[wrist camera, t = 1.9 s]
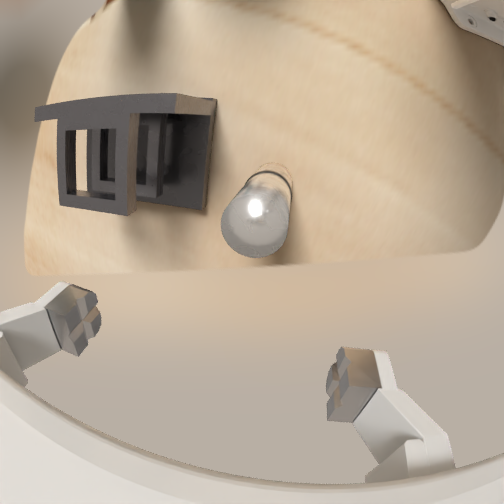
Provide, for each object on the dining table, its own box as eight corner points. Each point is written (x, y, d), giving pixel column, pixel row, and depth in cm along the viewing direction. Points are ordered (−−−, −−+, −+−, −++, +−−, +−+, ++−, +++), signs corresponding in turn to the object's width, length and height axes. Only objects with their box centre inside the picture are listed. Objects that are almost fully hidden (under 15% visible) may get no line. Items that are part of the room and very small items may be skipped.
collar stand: (217, 99, 26) (177, 89, 17) (205, 206, 32) (167, 243, 22) (96, 101, 28) (35, 104, 18) (94, 191, 33) (39, 218, 24)
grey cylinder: (295, 165, 28) (295, 199, 16) (289, 203, 30) (282, 264, 18) (256, 158, 29) (222, 187, 16) (251, 196, 30) (216, 252, 18)
